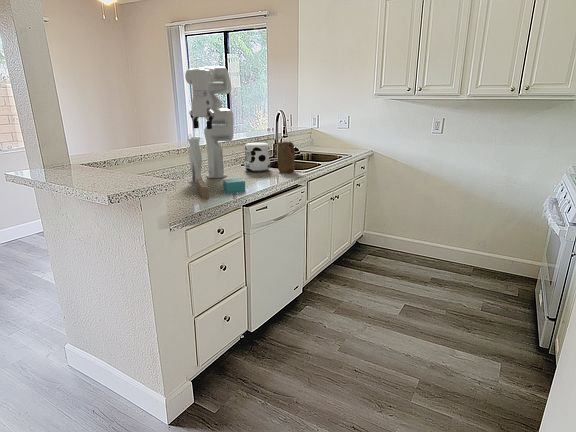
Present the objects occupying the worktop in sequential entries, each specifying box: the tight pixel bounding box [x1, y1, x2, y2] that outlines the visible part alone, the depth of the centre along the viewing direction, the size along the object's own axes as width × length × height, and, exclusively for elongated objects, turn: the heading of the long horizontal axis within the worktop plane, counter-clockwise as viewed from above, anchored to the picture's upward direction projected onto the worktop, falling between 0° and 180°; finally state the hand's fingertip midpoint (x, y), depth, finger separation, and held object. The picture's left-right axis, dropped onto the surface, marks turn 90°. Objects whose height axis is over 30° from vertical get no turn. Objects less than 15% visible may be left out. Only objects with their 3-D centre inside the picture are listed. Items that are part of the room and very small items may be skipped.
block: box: [277, 141, 296, 174], centre depth 250 cm, size 11×8×20 cm
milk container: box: [244, 142, 271, 173], centre depth 255 cm, size 17×17×18 cm
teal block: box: [222, 177, 246, 195], centre depth 205 cm, size 8×10×6 cm
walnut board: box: [196, 178, 210, 200], centre depth 199 cm, size 20×3×6 cm, turn 21°
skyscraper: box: [187, 133, 204, 185], centre depth 221 cm, size 8×8×28 cm
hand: (202, 128), depth 200 cm, fingers open, 9 cm apart
